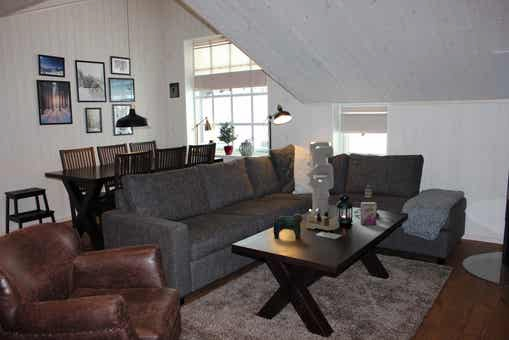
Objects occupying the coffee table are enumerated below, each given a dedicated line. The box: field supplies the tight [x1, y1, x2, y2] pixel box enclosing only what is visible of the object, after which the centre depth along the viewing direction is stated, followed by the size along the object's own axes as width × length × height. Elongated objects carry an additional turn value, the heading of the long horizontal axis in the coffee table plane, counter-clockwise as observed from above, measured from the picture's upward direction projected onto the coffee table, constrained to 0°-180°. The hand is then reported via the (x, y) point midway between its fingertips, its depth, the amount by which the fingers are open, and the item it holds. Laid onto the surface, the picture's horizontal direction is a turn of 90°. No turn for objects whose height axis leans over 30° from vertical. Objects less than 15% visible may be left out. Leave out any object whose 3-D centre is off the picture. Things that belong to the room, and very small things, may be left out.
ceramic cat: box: [272, 208, 304, 240], centre depth 287 cm, size 20×6×20 cm, turn 81°
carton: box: [305, 212, 340, 231], centre depth 310 cm, size 19×15×9 cm
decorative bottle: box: [354, 184, 383, 217], centre depth 337 cm, size 22×21×25 cm
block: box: [314, 216, 332, 227], centre depth 310 cm, size 12×5×8 cm, turn 50°
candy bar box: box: [359, 201, 378, 226], centre depth 315 cm, size 11×5×16 cm, turn 84°
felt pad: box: [315, 231, 342, 240], centre depth 292 cm, size 15×9×1 cm, turn 50°
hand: (322, 220), depth 309 cm, fingers open, 9 cm apart
